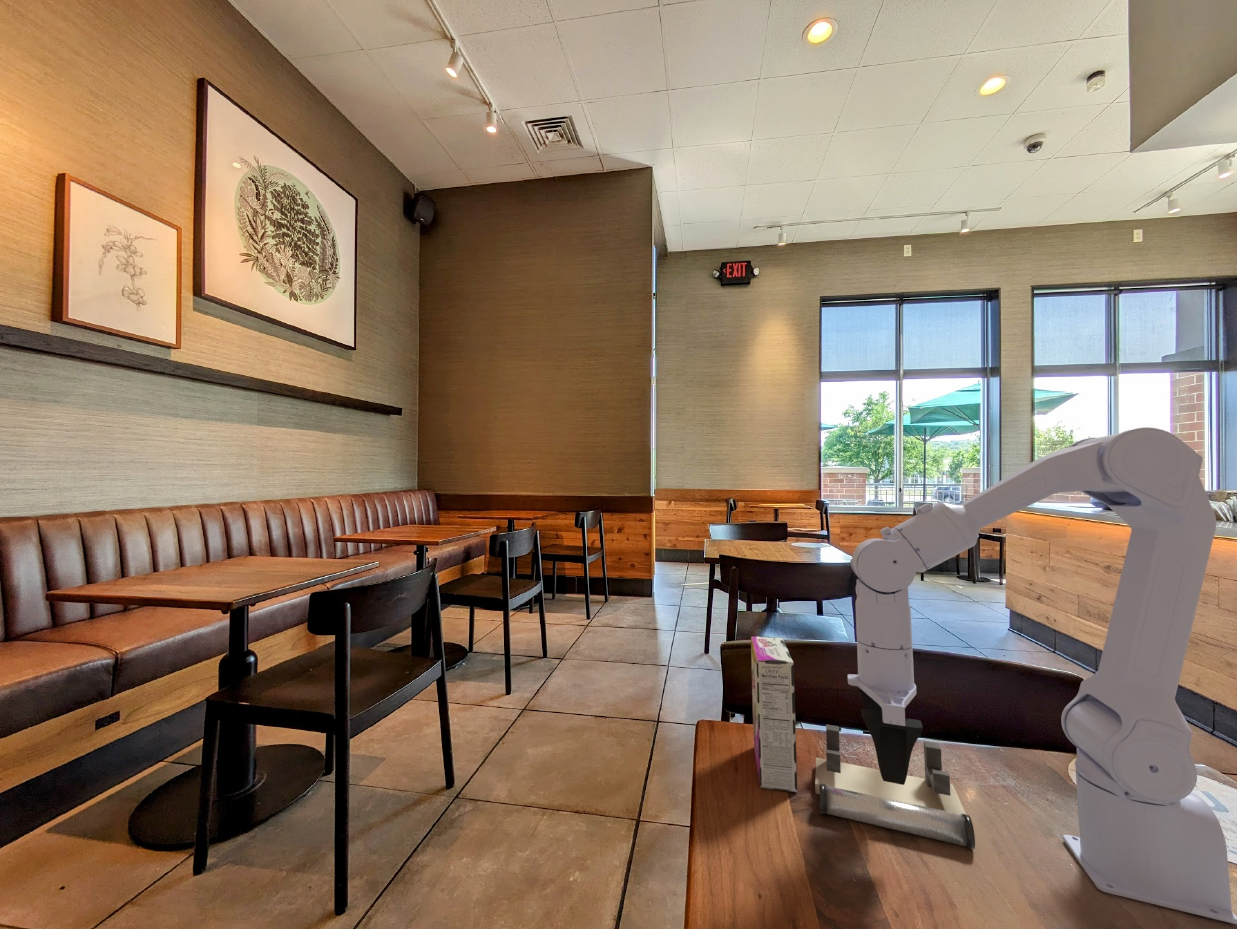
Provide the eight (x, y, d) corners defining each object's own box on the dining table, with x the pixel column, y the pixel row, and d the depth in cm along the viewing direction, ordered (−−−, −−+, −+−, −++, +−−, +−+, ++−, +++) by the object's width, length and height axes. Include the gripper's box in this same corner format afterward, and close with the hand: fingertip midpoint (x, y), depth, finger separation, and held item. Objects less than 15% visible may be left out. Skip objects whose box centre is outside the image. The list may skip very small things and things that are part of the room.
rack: (953, 794, 61) (950, 744, 62) (967, 827, 55) (964, 772, 55) (816, 766, 67) (815, 721, 68) (815, 793, 61) (814, 744, 62)
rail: (966, 831, 54) (967, 808, 53) (974, 856, 51) (975, 831, 50) (820, 798, 59) (819, 777, 59) (820, 819, 57) (819, 796, 56)
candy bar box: (751, 746, 73) (749, 635, 74) (786, 750, 72) (784, 637, 73) (757, 789, 62) (755, 658, 63) (798, 794, 61) (795, 661, 62)
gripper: (844, 624, 65) (847, 729, 64) (848, 656, 52) (853, 789, 51) (904, 629, 62) (909, 739, 61) (926, 665, 49) (932, 806, 48)
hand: (888, 763), depth 56 cm, fingers open, 7 cm apart
